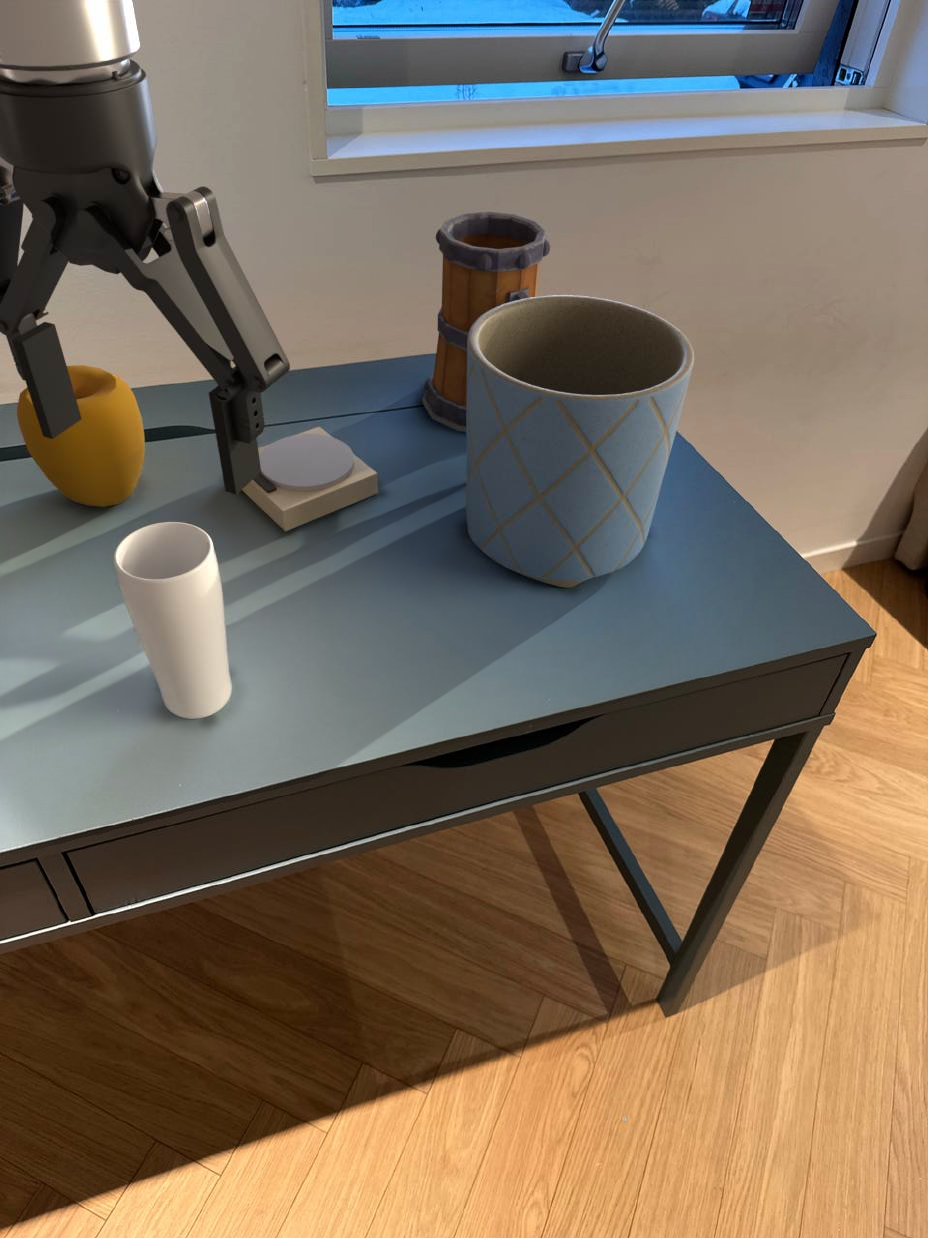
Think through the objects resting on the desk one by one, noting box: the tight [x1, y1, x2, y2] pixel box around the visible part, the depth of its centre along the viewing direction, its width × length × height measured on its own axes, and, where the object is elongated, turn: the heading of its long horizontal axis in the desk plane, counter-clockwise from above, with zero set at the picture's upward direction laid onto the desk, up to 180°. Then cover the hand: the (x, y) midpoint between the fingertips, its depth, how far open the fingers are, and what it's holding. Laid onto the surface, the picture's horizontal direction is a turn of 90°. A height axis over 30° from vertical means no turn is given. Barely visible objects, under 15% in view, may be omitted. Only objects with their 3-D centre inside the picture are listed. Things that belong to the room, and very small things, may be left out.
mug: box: [421, 211, 551, 433], centre depth 99 cm, size 19×14×20 cm
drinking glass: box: [113, 521, 233, 720], centre depth 67 cm, size 7×7×15 cm
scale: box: [241, 426, 379, 532], centre depth 93 cm, size 11×11×3 cm
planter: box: [465, 294, 695, 589], centre depth 83 cm, size 19×19×20 cm
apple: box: [16, 364, 146, 508], centre depth 87 cm, size 11×11×13 cm
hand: (150, 454), depth 56 cm, fingers open, 13 cm apart
